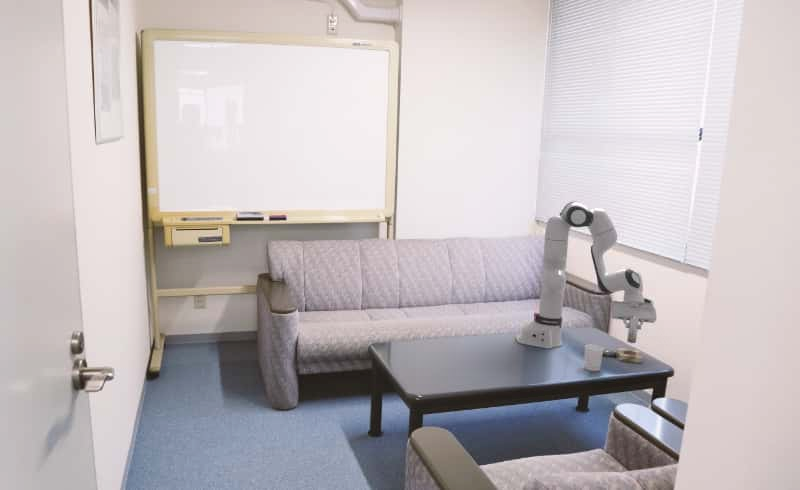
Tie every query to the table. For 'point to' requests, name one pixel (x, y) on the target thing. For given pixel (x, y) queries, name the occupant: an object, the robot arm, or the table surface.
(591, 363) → the white cup
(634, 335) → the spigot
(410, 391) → the table surface
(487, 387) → the table surface
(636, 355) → the socket block
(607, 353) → the pin
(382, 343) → the table surface
